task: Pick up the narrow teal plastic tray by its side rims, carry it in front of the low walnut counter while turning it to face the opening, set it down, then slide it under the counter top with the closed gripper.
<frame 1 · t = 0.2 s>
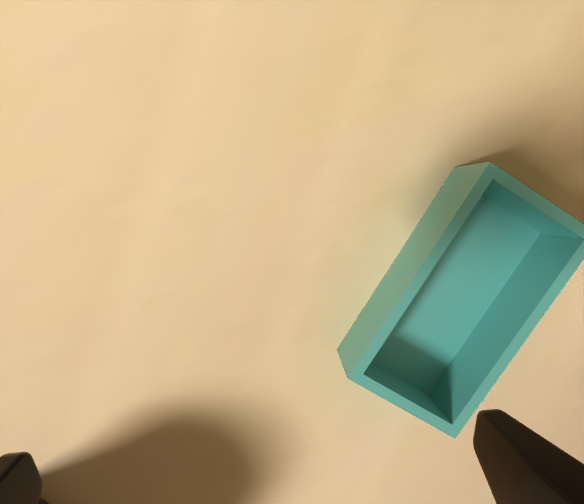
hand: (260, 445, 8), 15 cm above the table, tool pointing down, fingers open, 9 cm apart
tray: (438, 288, 23), on the table
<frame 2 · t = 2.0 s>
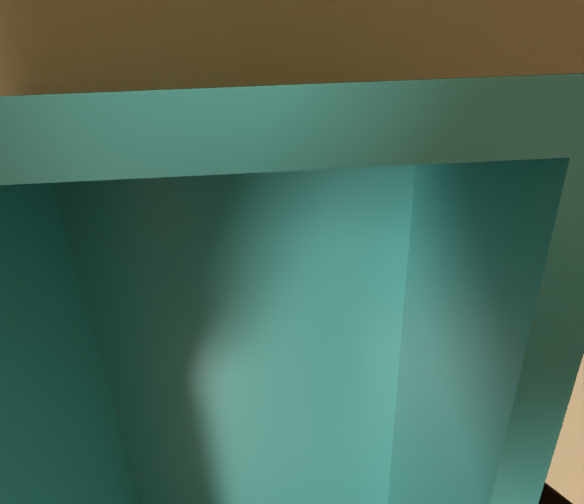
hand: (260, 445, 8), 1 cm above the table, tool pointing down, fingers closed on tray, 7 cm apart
tray: (261, 399, 9), on the table, touching gripper
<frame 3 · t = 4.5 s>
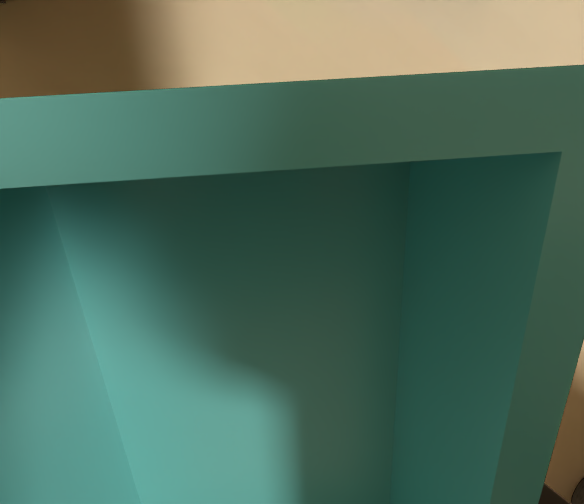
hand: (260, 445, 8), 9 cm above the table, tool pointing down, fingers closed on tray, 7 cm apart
tray: (260, 400, 9), point 8 cm above the table, touching gripper
when the fingers open (2 cm above the table, at t = 6.2 s): tray drops 1 cm, on the table.
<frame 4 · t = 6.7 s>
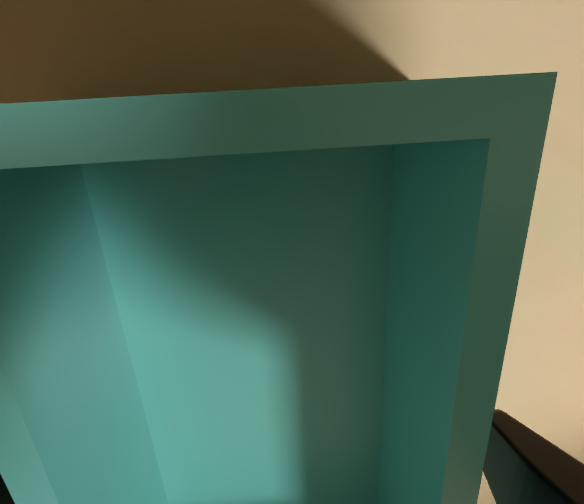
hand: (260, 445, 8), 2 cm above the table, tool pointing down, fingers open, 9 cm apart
tray: (264, 368, 10), on the table
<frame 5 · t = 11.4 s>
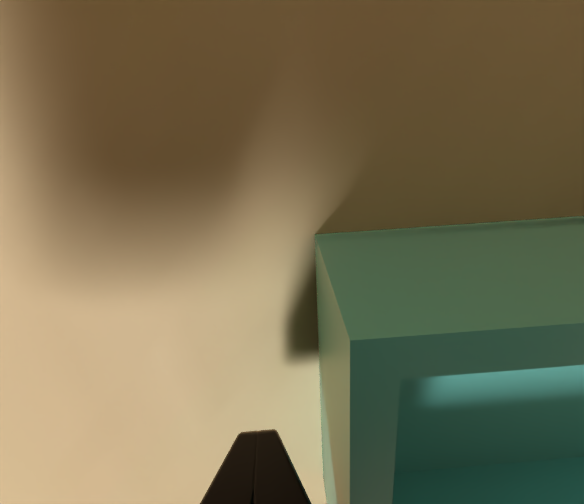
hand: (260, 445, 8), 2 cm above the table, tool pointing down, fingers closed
tray: (576, 345, 9), on the table, touching gripper
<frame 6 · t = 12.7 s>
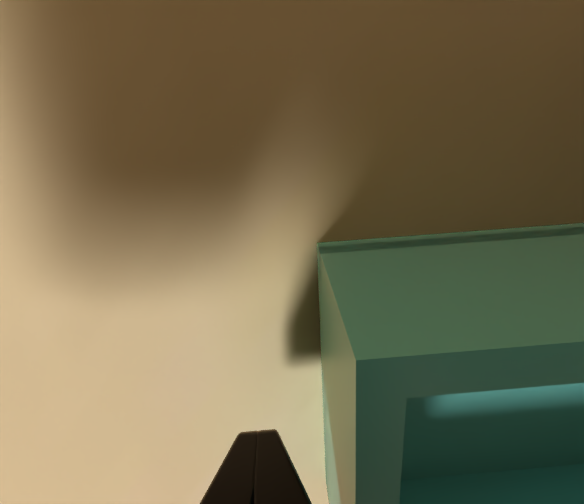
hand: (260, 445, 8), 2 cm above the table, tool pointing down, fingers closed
tray: (579, 352, 9), on the table
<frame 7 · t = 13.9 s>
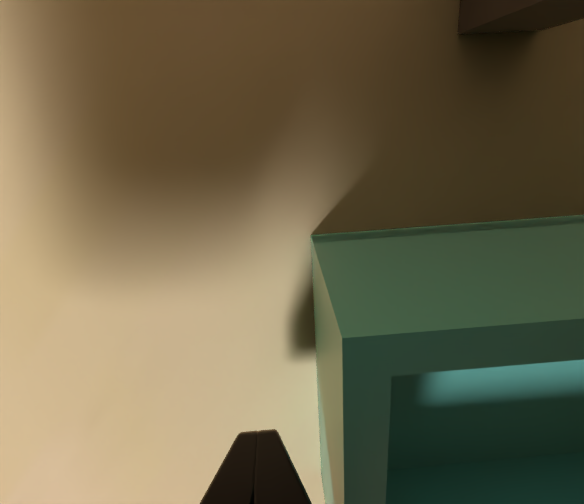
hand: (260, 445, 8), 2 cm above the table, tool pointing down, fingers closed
tray: (569, 342, 9), on the table, touching gripper
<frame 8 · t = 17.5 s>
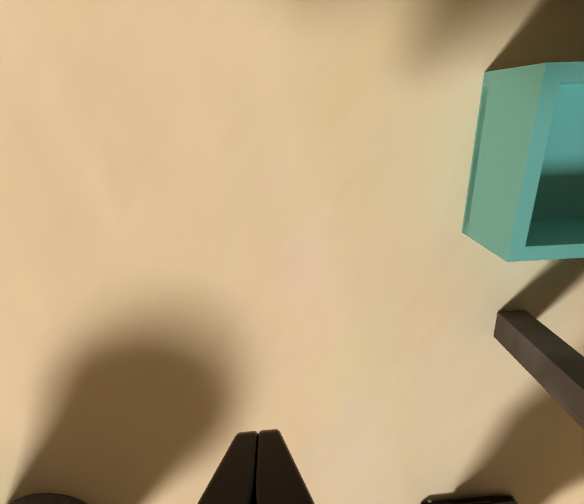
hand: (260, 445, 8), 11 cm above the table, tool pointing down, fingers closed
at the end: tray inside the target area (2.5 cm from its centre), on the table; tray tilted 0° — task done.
